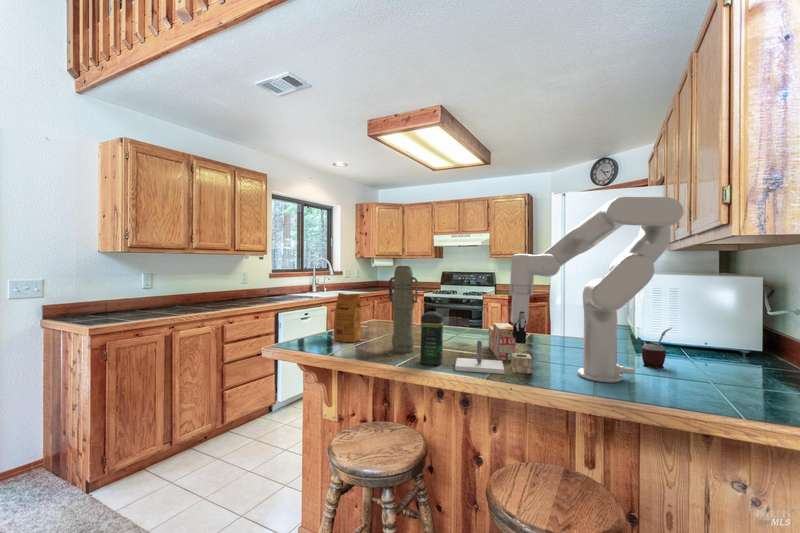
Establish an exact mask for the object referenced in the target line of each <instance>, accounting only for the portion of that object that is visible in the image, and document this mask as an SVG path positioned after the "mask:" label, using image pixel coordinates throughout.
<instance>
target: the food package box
mask: <svg viewBox="0 0 800 533" xmlns="http://www.w3.org/2000/svg"><path fill="white" fill-rule="evenodd" d="M513 326H514V325H511V324H509V323H508V322H506V323H505V322H493V323H492V326H491V325H490V326H488V347H489V349H490V351H491V350H492V351H491V352H492V353H493V355H494V356H495V357H496V359H497V360H499V361H509V360H511V358H512V353H516V342H515V340H516V337H513Z"/></svg>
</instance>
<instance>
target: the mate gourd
mask: <svg viewBox="0 0 800 533" xmlns="http://www.w3.org/2000/svg"><path fill="white" fill-rule="evenodd" d="M672 329H673V327H670V328H668V329H665V330H664V331H663V332H662V333H661V334H660V335H661V336H660V338H659V340H658V342H657V343H654V342H653V343H651V342H646V343H644V344H643V346H642V349H641V359H642V362H643V364H642V366H643V367H646V368H648V367H649V368H653V369H654V370H658V368H660V369H664V368H665V366H664V364H665V360H666V356H667V353H666V348H665V347H664V346H663V344H661V342H662V340H663V338H664V337H665V335H666V333H667V332H669V331H670V330H672Z"/></svg>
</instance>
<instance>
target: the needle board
mask: <svg viewBox="0 0 800 533" xmlns="http://www.w3.org/2000/svg"><path fill="white" fill-rule="evenodd" d="M482 354H483V342H482V340H481V339H480V340H477V342H476V358H466V357H465V358H464V357H463V358H462V357H457V358H456V361H455V365H454V370H455V371H458V372H469V373H470V372H471V373H472V372H473V373H474V372H475V373H485V374H486V373H487V374H498V375H499V374H501V375H502V374H503V375H504V374H505V367H504V363H503V360H498V359H497V360H496V359H483V358H482V356H483V355H482Z"/></svg>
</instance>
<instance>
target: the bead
mask: <svg viewBox="0 0 800 533" xmlns="http://www.w3.org/2000/svg"><path fill="white" fill-rule="evenodd" d="M510 364H511V366H510V368H511V367H512V368H511V371H512V373H516V372H518V373H519V374H530V373H533V366H532V365H533V358H532V356H531V355H530V353H518V352H515V353H512V358H511V361H510ZM518 373H517V374H518Z"/></svg>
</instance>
